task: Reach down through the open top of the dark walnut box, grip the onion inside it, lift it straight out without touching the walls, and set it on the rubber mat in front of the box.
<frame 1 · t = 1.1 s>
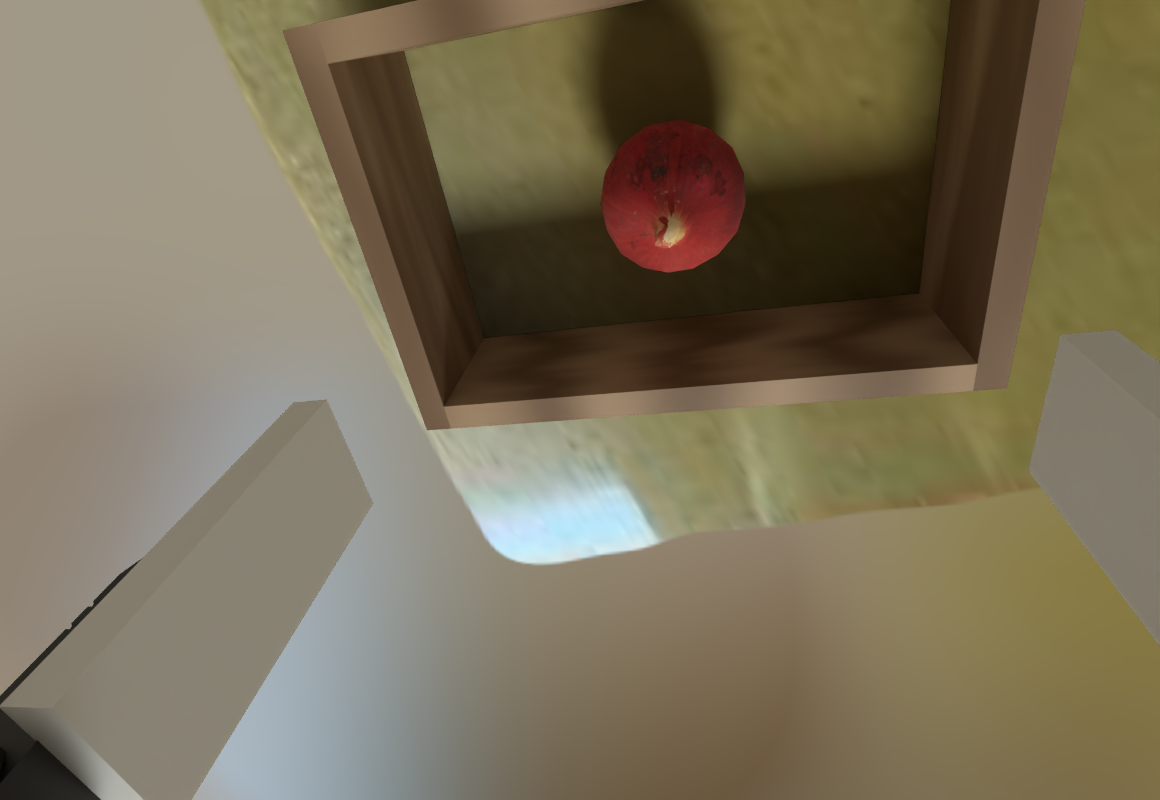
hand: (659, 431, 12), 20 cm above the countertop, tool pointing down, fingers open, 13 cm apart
onion: (673, 176, 29), resting in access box
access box: (673, 177, 29), on the countertop
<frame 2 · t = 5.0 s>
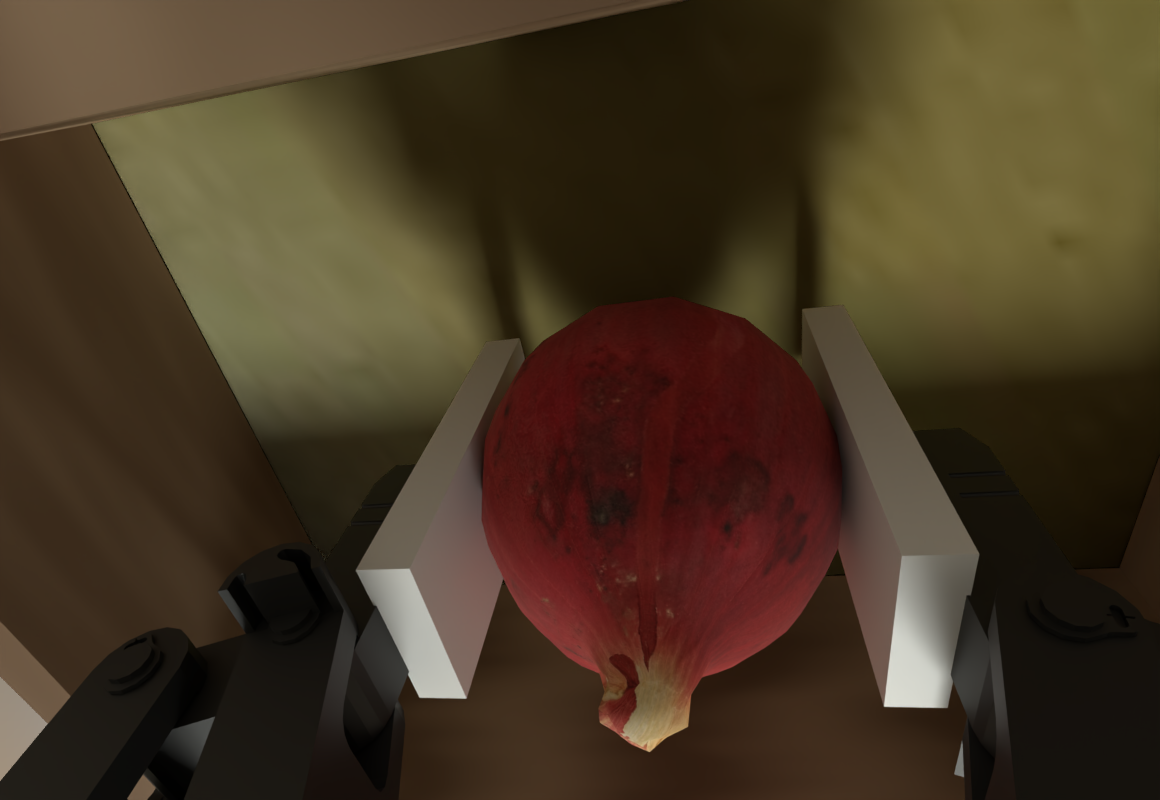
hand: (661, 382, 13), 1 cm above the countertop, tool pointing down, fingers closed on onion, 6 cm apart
onion: (661, 364, 14), point 1 cm above the countertop, touching gripper
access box: (652, 366, 14), on the countertop
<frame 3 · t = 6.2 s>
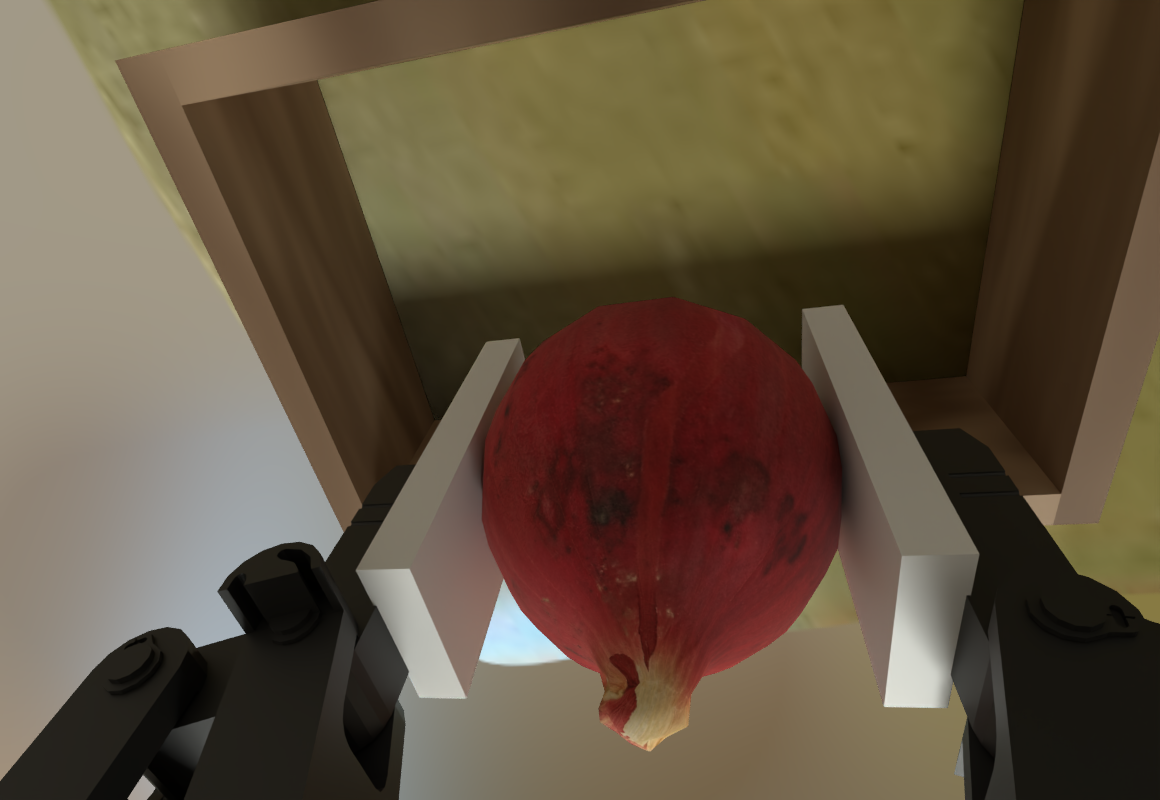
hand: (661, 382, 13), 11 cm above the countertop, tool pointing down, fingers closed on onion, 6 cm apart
onion: (661, 364, 14), point 10 cm above the countertop, touching gripper
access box: (660, 236, 23), on the countertop
when the fingers open (1 cm above the countertop, at t = 11.1 s): onion stays where it is, resting on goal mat.
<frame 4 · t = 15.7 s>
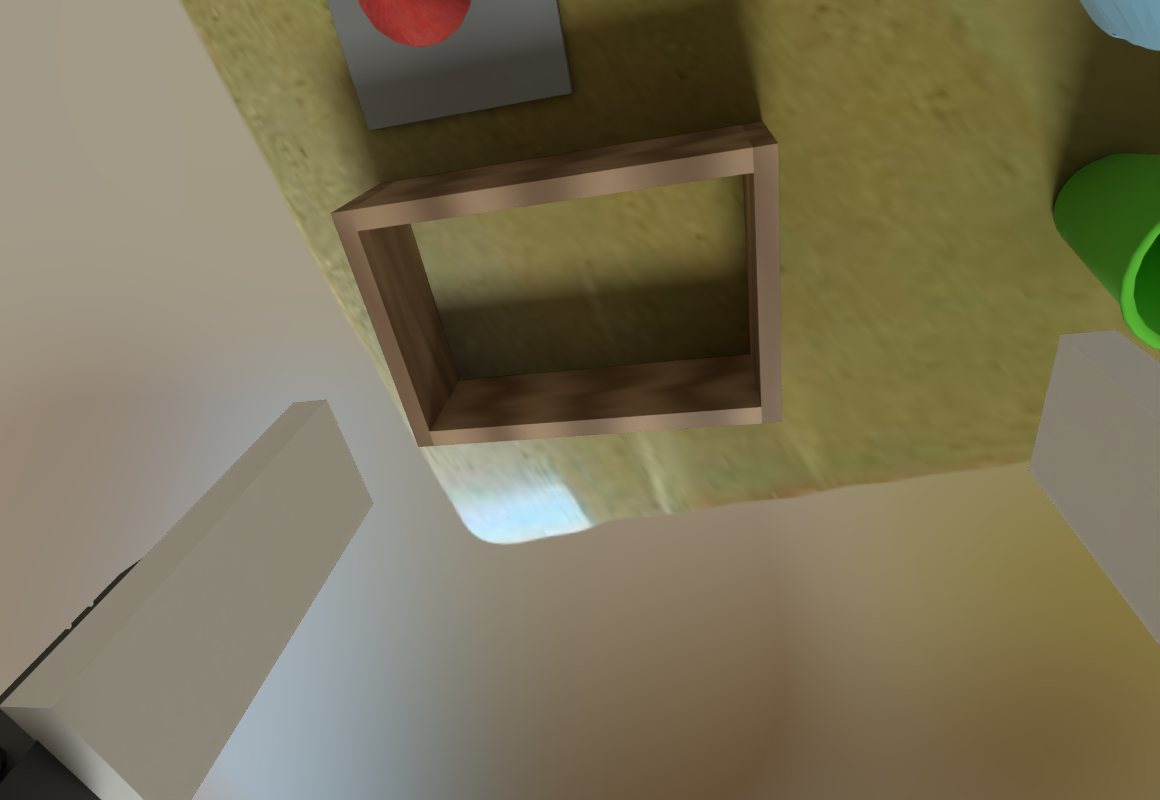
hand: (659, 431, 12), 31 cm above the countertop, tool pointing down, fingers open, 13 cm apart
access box: (581, 279, 43), on the countertop
cup: (1100, 198, 36), on the countertop
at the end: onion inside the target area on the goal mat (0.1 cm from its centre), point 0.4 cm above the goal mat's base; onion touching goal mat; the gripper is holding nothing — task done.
